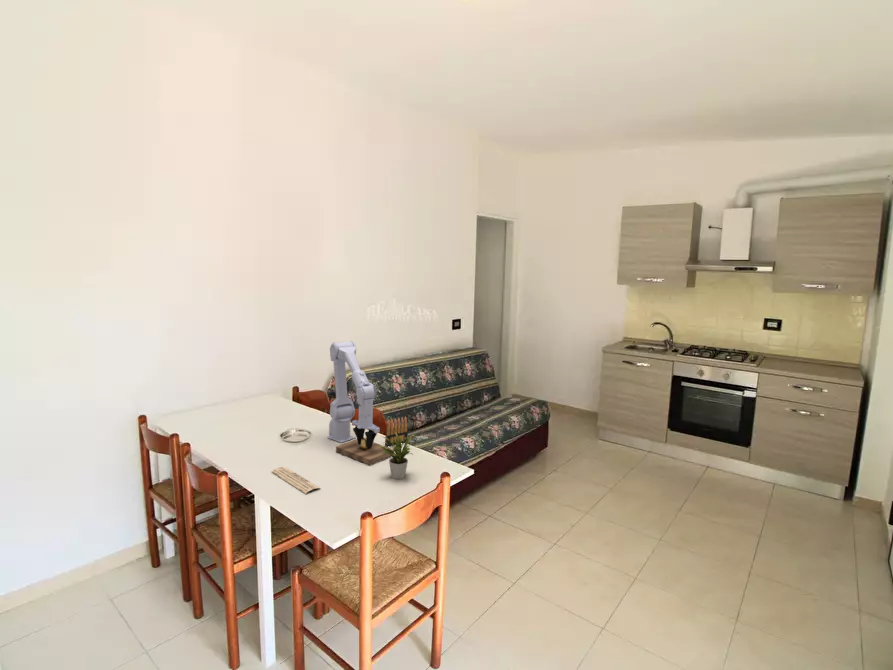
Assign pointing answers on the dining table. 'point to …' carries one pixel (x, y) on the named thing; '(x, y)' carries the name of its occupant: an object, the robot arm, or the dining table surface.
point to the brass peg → (364, 444)
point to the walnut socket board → (363, 452)
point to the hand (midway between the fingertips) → (365, 445)
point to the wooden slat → (294, 479)
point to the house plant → (398, 457)
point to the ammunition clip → (396, 431)
